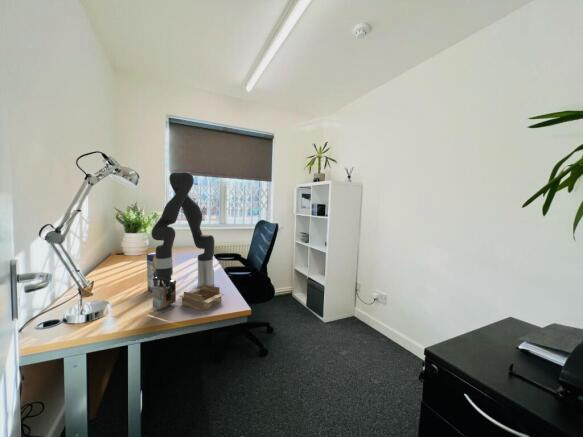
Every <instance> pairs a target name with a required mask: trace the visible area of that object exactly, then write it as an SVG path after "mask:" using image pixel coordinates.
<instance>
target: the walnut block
mask: <svg viewBox="0 0 583 437" xmlns="http://www.w3.org/2000/svg"><path fill="white" fill-rule="evenodd" d="M169 286H170V285H169ZM169 286H166V287H169ZM176 286H177V285H175V291H174V292H172V293H171V300H169V301H166V289H165V287H163V286H161V285H160V286H155V287H152V291H151V292H152V308H157V309H162V308H164V307H166V306H168V305H170V304H175V303H176V302H177V301H176V300H177V297H176V296H177V295H176V294H177V292H176ZM168 291H169V288H168Z"/></svg>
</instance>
